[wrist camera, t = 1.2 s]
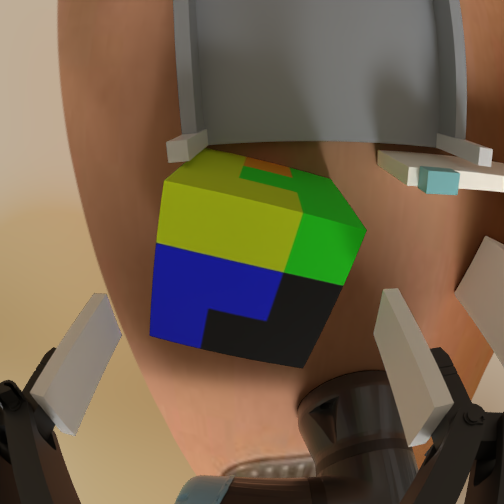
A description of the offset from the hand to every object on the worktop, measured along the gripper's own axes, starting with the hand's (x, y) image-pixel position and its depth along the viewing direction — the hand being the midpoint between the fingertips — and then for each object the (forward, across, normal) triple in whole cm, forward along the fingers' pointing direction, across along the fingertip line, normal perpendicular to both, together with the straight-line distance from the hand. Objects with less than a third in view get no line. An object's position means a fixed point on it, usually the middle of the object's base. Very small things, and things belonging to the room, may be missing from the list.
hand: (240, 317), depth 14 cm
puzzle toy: (+13, 0, 0) cm, 13 cm away
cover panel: (+13, -19, -5) cm, 23 cm away
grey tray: (+13, -6, -14) cm, 20 cm away
